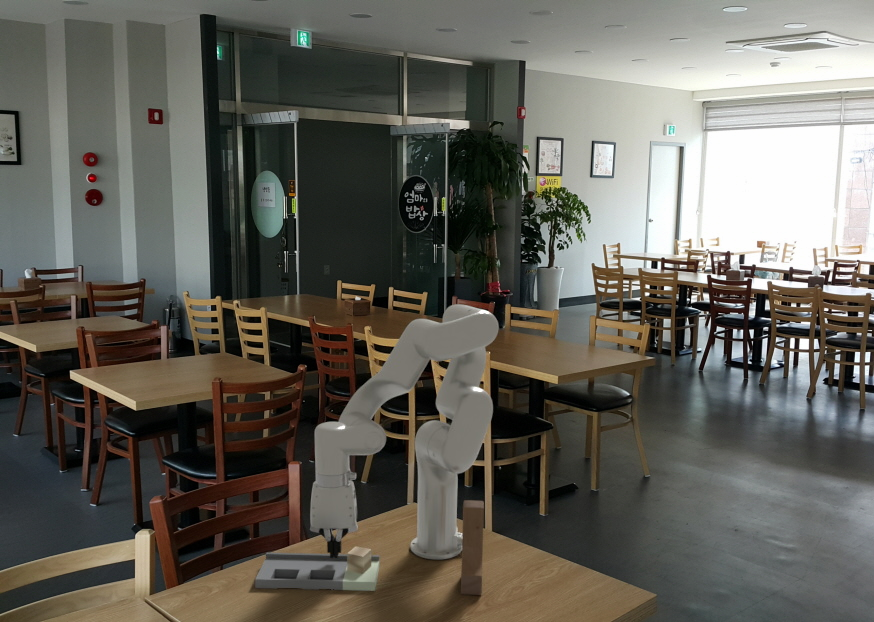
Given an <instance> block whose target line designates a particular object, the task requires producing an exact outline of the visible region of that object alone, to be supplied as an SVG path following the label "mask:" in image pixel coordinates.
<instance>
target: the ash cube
mask: <svg viewBox="0 0 874 622" xmlns="http://www.w3.org/2000/svg"><path fill="white" fill-rule="evenodd" d="M372 551H373V550H372V549H371V548H366V547H361V546H358V545H357V546H356V545H355V546H354V547H353V548H352V549H351V550H349V551H348V552H347V553H346V554H347V570H348V571H352V572H357V573H362V574H364V573H365V572H366V571H367V570H368V569H369V568H370V567H371V555H372Z"/></svg>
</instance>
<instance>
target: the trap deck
mask: <svg viewBox="0 0 874 622" xmlns="http://www.w3.org/2000/svg"><path fill="white" fill-rule="evenodd" d="M379 571H380V554H371V567H370V568H369V569H368V570H367V571H366V572H365V573H364V574H362V573H357V572H352V571H348V570H347V553H346V554H345V553H343V554H342V553H339V554H338V557H337V558H334V557H333V558H330V553H308V552H307V553H304V552H302V553H301V552H265V559H264V561H263V563H262V566H261V567H260V569H259V571H258V573H257V575H256V577H255V579H254V587H255V589H277V588H302V589H301V590H319V589H331V590H330V591H363V592H364V591H365V592H367V591H368V592H369V591H371V592H373V591H374V592H376V588H377V582H378V578H379V577H378V575H379ZM333 589H334V590H333Z"/></svg>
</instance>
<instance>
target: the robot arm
mask: <svg viewBox="0 0 874 622" xmlns="http://www.w3.org/2000/svg"><path fill="white" fill-rule="evenodd" d="M498 333H499V321H498V320H497V318H496V316H495V315H494V314H493V313H491V312H490V311H488V310H486V309H482V308H477V307H473V306H471V305H466V304H458V303H456V304H452V305H449V306H448V307H447V308H446V309H445V310H444V313H443V315H442V322H437V321H434V320H431V319H427V318H416V319H414V320H411V321H410V323H409V324H408V325H407V326H406V327H405V329H404V330H403V332H402V334H401V336H400V337H399V338H398V340H397V342H396V344H395V345H394V346H393V349H392V351H391V352H390V353H389V355H388V357H387V359H386V361H385V362H384V364H383V365H382V366H381V368H380V370H379V371H378V372H377V373H376V374H374V375H373V376H372V377H371V378H369V379H368V380H367V381H366V382H365V383H364V384H363V385H361V386H360V387H359V388H358V389H357V390H355V391H356V392H354V394H353V395H352V396H351V397H350V399H349V401H348V403H347V405H346V406H345V408H344V409H343V411H342V413H341V414H340V417H339V419H338V421H327V422H322V423H320V424H318V425H317V426H316V427H315V429H314V458H315V460H314V461H315V481H314V482H313V483H312V489H311V498H310V511H309V512H310V514H309V516H310V517H309V518H310V519H309V520H310V528H309V531H310V532H313V533H317V534H320V535H321V536H322V537H323V538H324V540H325V541H326V545H327V546H326V548H327V549H326V551H327V554H330V558H333V557H334V558H337V557H338V554H342V539H343V538H345V536H346V535H347V534H350V533H355V532H357V531H358V529H359V526H358V522H357V519H358V505H357V495H356V493H357V492H356V488H355V484H354V481H353V480H356V479H357V472H352V471H351V468H350V456H370V455H375V454H376V453H379V452H380V451H382V449H383V448H384V447H385V445H386V442H387V434H386V431H385V430H384V427H382V426H381V425H380V424H379V423H377V422H376V421H374V420H372V419H373V418H374V416H375V414H376V413H377V412H378V410H379V409H380V407H381V406H382V405H384V404H385V403H386V402H387V401H389V400H391V399H393V398H396V397H399V396H402V395H405V394H407V393H409V392H411V391H412V390H413V389H414V387H415V385H416V384H417V382H418V380H419V379H420V376H422V373H423V372H424V370H425V368H426V367H427V365H428V363H429V362H430V360H432V361H434V362H442V361H443V362H444V361H448V360H449V363H448V366H447V367H446V368H447V369H446V371H445V373H444V377H443V379H442V382H441V384H440V387H439V389H438V391H437V395H436V398H435V408H436V409H437V411H438V412H439V413H440V414H441V415H442V416H444V417H446V418H447V419H450V420H451V423H450V424H449V423H447V422H444V421H441V420H435V419H434V420H429V421H426V422H425V423H424V424H422V425H421V426H420V427H419V428H418V430H417V432H416V435H415V438H414V448H415V456H416V462H417V463H416V465H417V510H416V511H417V512H416V513H417V520H416V523H417V524H416V525H417V527H416V529H417V530H416V537H414V538H413V539H412V540H411V542H410V550H411V552H412V553H413V554H414V555H415V556H417V557H420V558H423V559H427V560H434V561H435V560H436V561H437V560H448V559H452V558H454V557H456V556H458V555H460V554H462V535H463V532H460V531H459V530H458V529H459V528H458V526H457V525H458V524H457V522H458V521H457V517H458V516H457V515H458V514H457V511H458V510H457V508H458V480H459V479H458V474H463V473H465V472H466V471H468V470H469V469H470V468H471V467H472V466H473V464H474V463H475V461H476V459H477V458H478V455H479V453H480V450H481V447H482V445H483V443H484V440H485V437H486V435H487V432H488V429H489V427H490V425H491V421H492V418H493V413H494V404H493V399H492V397H491V396H490V394H489V393H488V392H487V391H486V390H484V389H483V388H481V387H480V384H481V381H482V378H483V375H484V372H485V368H486V364H487V352H486V351H487V350H486V347H487V346H489V345H490V344H492V343H493V341H495V339H496V338H497V336H498ZM333 529H334V530H335V529H336V534H335V536H334V533H333ZM458 531H459V532H458Z"/></svg>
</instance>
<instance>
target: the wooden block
mask: <svg viewBox="0 0 874 622" xmlns="http://www.w3.org/2000/svg"><path fill="white" fill-rule="evenodd" d="M484 504H485V503H484V501H483V500H472V499H471V500H469V499H467V500H463V505H462V533H463V535H462V551H461V572H460V573H461V574H460V575H461V576H460V594H461V595H471V596H481V595H482V589H483V554H484V553H483V551H484V550H483V549H484V547H483V546H484V544H483V543H484V515H485V514H484V512H485V510H484V509H485V507H484V506H485V505H484Z"/></svg>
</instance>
